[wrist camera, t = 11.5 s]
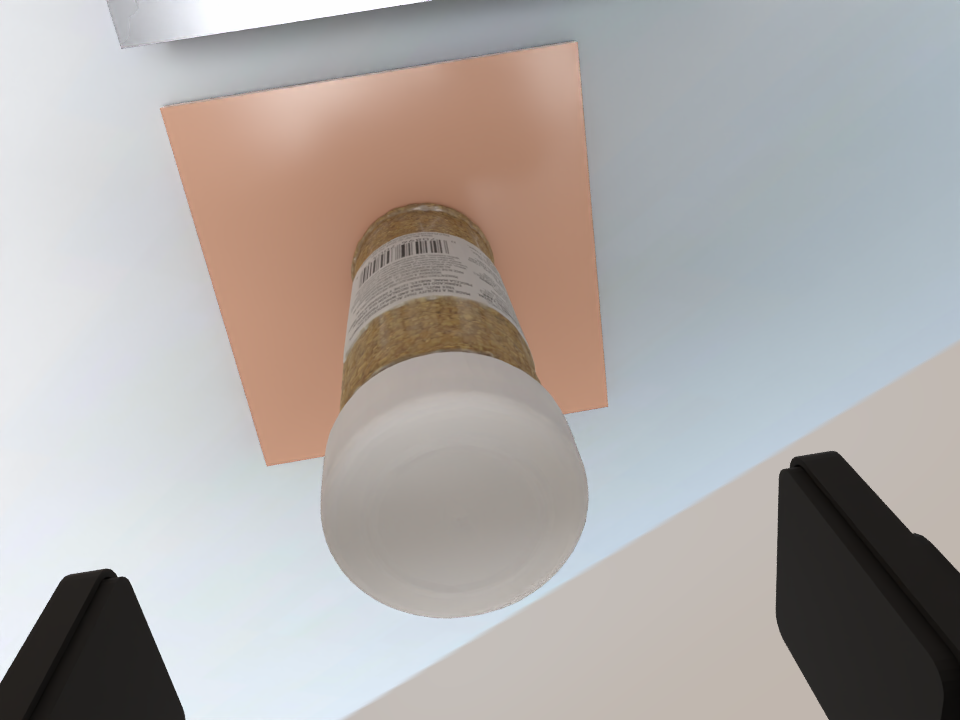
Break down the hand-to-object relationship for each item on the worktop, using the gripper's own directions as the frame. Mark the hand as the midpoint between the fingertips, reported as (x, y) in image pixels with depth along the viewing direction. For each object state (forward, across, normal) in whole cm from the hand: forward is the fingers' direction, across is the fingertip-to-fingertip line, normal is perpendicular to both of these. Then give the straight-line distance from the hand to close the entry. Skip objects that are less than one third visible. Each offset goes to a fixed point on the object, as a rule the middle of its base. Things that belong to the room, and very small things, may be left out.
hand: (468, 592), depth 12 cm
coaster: (+16, +1, 0) cm, 16 cm away
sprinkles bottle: (+16, 0, 0) cm, 16 cm away
